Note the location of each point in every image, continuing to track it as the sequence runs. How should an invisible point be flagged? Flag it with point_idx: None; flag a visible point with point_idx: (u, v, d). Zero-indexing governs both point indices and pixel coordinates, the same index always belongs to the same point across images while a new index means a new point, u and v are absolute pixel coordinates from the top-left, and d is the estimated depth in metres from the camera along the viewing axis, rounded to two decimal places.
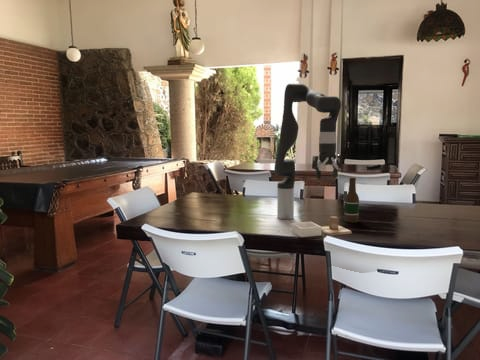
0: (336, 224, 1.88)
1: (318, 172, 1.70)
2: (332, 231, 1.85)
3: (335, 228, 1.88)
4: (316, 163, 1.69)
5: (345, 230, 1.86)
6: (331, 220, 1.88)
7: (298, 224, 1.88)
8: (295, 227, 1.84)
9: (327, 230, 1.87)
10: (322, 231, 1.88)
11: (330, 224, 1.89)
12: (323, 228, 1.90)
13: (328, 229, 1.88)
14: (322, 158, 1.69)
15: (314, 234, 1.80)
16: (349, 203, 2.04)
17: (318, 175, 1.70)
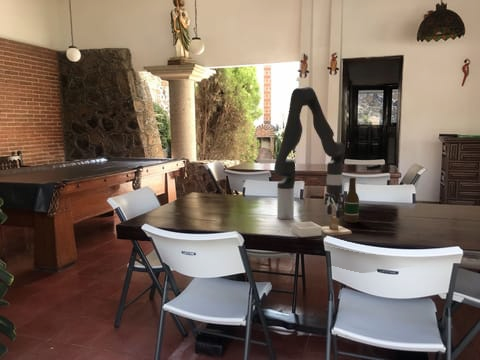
0: (336, 224, 1.88)
1: (340, 212, 1.83)
2: (332, 231, 1.85)
3: (335, 228, 1.88)
4: None
5: (345, 230, 1.86)
6: (331, 220, 1.88)
7: (298, 224, 1.88)
8: (295, 227, 1.84)
9: (327, 230, 1.87)
10: (322, 231, 1.88)
11: (330, 224, 1.89)
12: (323, 228, 1.90)
13: (328, 229, 1.88)
14: None
15: (314, 234, 1.80)
16: (349, 203, 2.04)
17: (340, 214, 1.83)
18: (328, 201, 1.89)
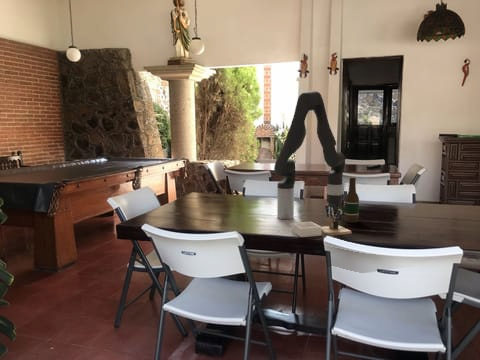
0: None
1: (337, 222, 1.87)
2: (332, 231, 1.85)
3: None
4: None
5: (345, 230, 1.86)
6: (331, 220, 1.88)
7: (298, 224, 1.88)
8: (295, 227, 1.84)
9: (327, 230, 1.87)
10: (322, 231, 1.88)
11: (330, 224, 1.89)
12: (323, 228, 1.90)
13: (328, 229, 1.88)
14: None
15: (314, 234, 1.80)
16: (349, 203, 2.04)
17: (337, 225, 1.87)
18: (329, 211, 1.89)
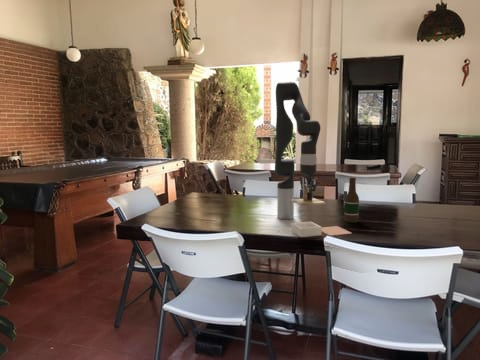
0: None
1: (311, 194, 1.80)
2: (306, 202, 1.79)
3: (309, 200, 1.81)
4: None
5: (319, 201, 1.80)
6: (305, 191, 1.82)
7: (298, 224, 1.88)
8: (295, 227, 1.84)
9: (301, 201, 1.80)
10: (322, 231, 1.88)
11: (304, 196, 1.83)
12: (297, 200, 1.84)
13: (302, 201, 1.82)
14: None
15: (314, 234, 1.80)
16: (349, 203, 2.04)
17: (311, 196, 1.81)
18: (303, 183, 1.83)
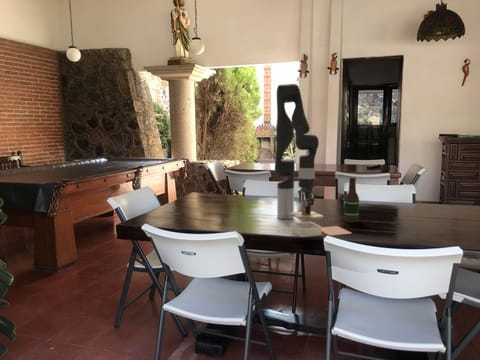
0: None
1: None
2: (304, 216, 1.79)
3: None
4: None
5: (317, 215, 1.81)
6: (303, 205, 1.82)
7: (298, 224, 1.88)
8: (295, 227, 1.84)
9: (299, 215, 1.81)
10: (322, 231, 1.88)
11: (302, 209, 1.83)
12: (295, 213, 1.85)
13: (300, 214, 1.83)
14: None
15: (314, 234, 1.80)
16: (349, 203, 2.04)
17: None
18: (301, 196, 1.83)
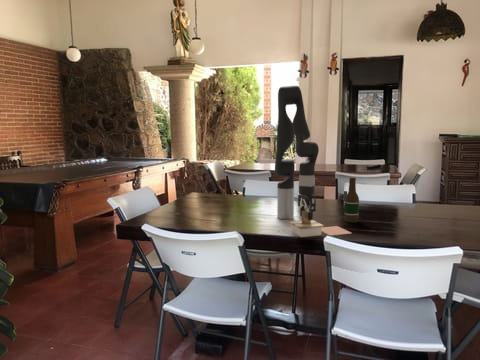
0: None
1: None
2: (304, 225, 1.80)
3: (307, 222, 1.83)
4: None
5: (317, 224, 1.81)
6: (303, 214, 1.83)
7: None
8: (295, 227, 1.84)
9: (299, 224, 1.82)
10: (322, 231, 1.88)
11: (302, 218, 1.84)
12: (295, 222, 1.85)
13: (300, 223, 1.84)
14: None
15: (314, 234, 1.80)
16: (349, 203, 2.04)
17: None
18: (301, 202, 1.85)
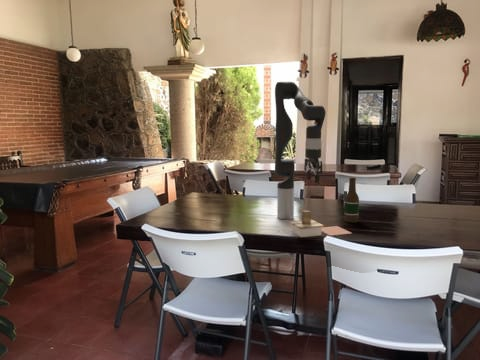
0: (308, 218, 1.83)
1: None
2: (304, 225, 1.80)
3: (307, 222, 1.83)
4: None
5: (317, 224, 1.81)
6: (303, 214, 1.83)
7: None
8: (295, 227, 1.84)
9: (299, 224, 1.82)
10: (322, 231, 1.88)
11: (302, 218, 1.84)
12: (295, 222, 1.85)
13: (300, 223, 1.84)
14: None
15: (314, 234, 1.80)
16: (348, 203, 2.04)
17: None
18: (307, 166, 1.87)
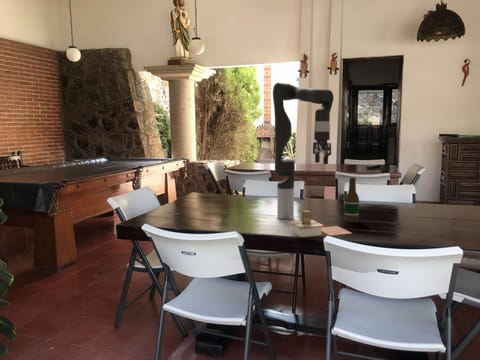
0: (308, 218, 1.83)
1: (327, 158, 1.87)
2: (304, 225, 1.80)
3: (307, 222, 1.83)
4: None
5: (317, 224, 1.81)
6: (303, 214, 1.83)
7: None
8: (295, 227, 1.84)
9: (299, 224, 1.82)
10: (322, 231, 1.88)
11: (302, 218, 1.84)
12: (295, 222, 1.85)
13: (300, 223, 1.84)
14: None
15: (314, 234, 1.80)
16: (349, 203, 2.04)
17: (327, 160, 1.87)
18: (316, 149, 1.92)
